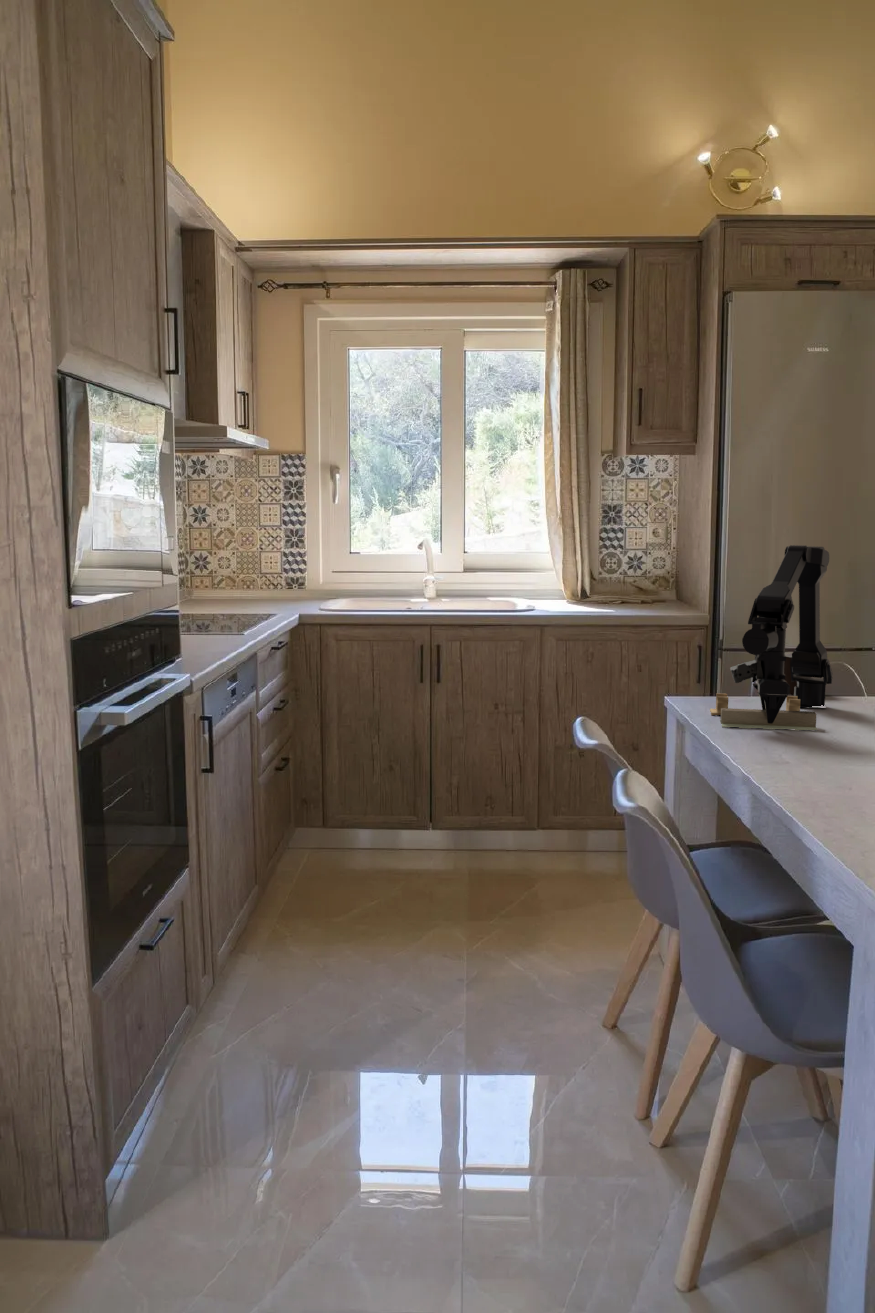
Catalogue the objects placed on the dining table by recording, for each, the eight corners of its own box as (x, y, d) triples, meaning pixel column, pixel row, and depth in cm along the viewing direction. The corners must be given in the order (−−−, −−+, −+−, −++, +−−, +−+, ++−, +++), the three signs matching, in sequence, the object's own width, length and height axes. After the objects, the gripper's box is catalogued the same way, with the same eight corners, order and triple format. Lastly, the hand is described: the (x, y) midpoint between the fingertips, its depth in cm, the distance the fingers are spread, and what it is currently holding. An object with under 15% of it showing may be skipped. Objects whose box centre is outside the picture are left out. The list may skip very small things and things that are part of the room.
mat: (812, 724, 225) (812, 723, 225) (817, 731, 218) (817, 729, 218) (720, 721, 229) (720, 719, 229) (722, 727, 222) (722, 725, 222)
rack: (801, 714, 237) (802, 696, 236) (805, 719, 231) (806, 700, 231) (709, 711, 241) (710, 692, 240) (711, 715, 236) (712, 696, 235)
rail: (813, 724, 223) (814, 711, 222) (815, 727, 220) (816, 713, 220) (720, 721, 227) (720, 708, 226) (721, 723, 224) (721, 710, 224)
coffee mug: (806, 696, 261) (808, 658, 260) (773, 693, 266) (775, 655, 265) (820, 690, 270) (822, 653, 269) (788, 687, 276) (789, 651, 274)
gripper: (729, 644, 232) (727, 710, 234) (736, 654, 214) (733, 726, 216) (780, 645, 230) (777, 712, 232) (791, 656, 212) (788, 729, 214)
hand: (768, 719), depth 223 cm, fingers open, 8 cm apart
